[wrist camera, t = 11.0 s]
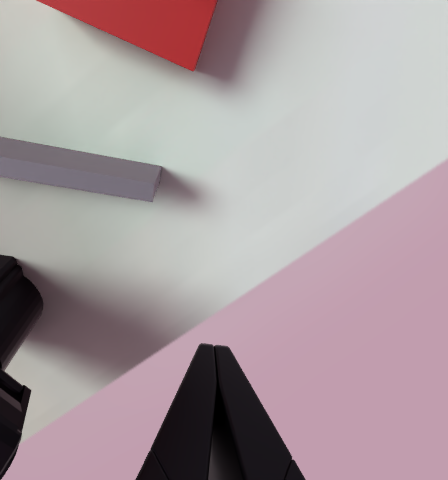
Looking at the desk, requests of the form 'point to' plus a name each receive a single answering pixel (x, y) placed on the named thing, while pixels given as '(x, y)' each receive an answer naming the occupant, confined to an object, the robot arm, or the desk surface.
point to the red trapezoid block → (149, 23)
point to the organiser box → (78, 170)
